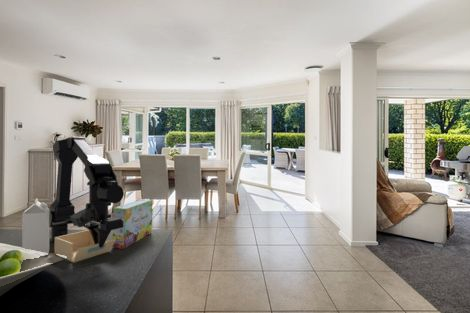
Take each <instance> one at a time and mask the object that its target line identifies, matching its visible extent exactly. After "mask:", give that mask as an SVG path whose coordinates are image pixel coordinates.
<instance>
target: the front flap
mask: <svg viewBox="0 0 470 313" xmlns="http://www.w3.org/2000/svg"><path fill="white" fill-rule="evenodd" d="M115 241H116V239H113V238H112V239H110V240H109V239H108V241H105V243H104V245H103V247H101V248H100V247H99V243H98V244H94V245H91V246H87V247H83V248H80V249H78V251H77V253H76V255H75V257H74V260H73V262H72V263H76V262H79V261H83V260H86V259H90V258H93V257H96V256H99V255H103V254H106V253H109V252H111V249H112V248H113V247H112V246H113V244H114V242H115Z"/></svg>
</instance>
